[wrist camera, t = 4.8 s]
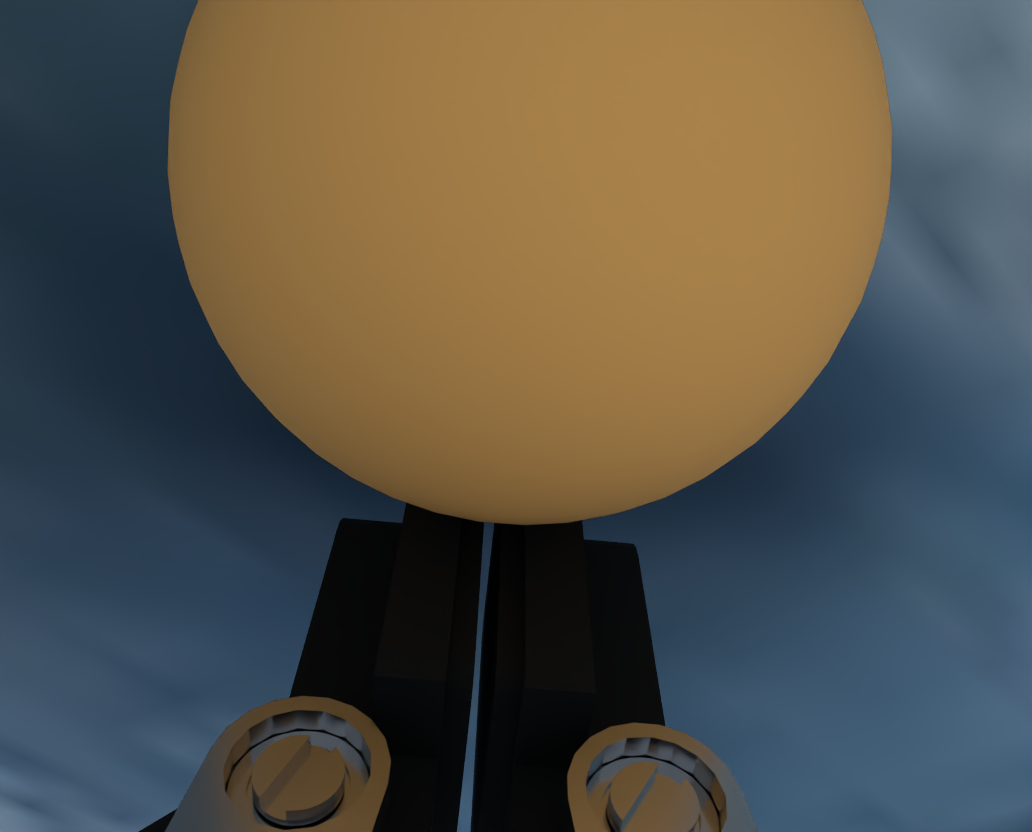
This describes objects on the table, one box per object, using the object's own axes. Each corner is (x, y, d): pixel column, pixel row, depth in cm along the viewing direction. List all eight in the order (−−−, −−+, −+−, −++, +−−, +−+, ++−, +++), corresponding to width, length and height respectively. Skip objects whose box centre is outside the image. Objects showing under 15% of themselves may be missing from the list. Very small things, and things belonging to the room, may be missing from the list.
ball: (494, 709, 9) (669, 607, 4) (108, 316, 10) (-175, -203, 5) (825, 347, 11) (1234, -40, 6) (482, 47, 12) (573, -525, 7)
